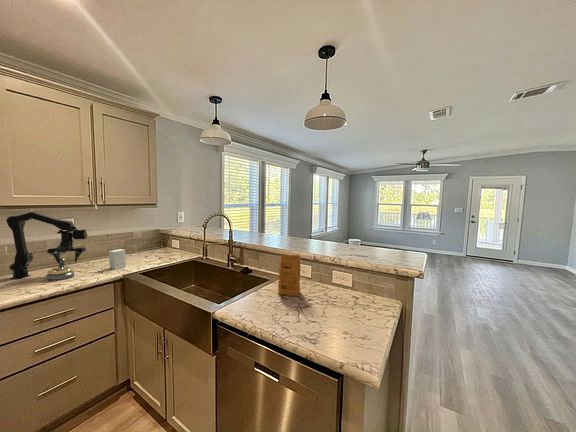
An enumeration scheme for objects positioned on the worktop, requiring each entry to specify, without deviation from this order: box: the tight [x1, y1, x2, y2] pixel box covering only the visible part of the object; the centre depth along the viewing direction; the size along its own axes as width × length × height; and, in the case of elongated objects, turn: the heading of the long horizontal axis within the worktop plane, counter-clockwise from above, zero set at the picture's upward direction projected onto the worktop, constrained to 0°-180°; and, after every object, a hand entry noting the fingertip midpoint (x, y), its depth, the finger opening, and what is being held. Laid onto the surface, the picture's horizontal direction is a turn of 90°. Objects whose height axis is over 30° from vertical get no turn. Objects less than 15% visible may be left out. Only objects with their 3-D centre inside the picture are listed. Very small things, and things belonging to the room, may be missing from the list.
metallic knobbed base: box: [47, 257, 73, 276], centre depth 157 cm, size 18×11×7 cm, turn 39°
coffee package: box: [277, 253, 301, 297], centre depth 134 cm, size 10×12×22 cm
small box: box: [108, 248, 127, 270], centre depth 179 cm, size 8×6×13 cm
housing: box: [45, 270, 75, 282], centre depth 157 cm, size 15×18×3 cm
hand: (67, 262), depth 164 cm, fingers open, 9 cm apart
